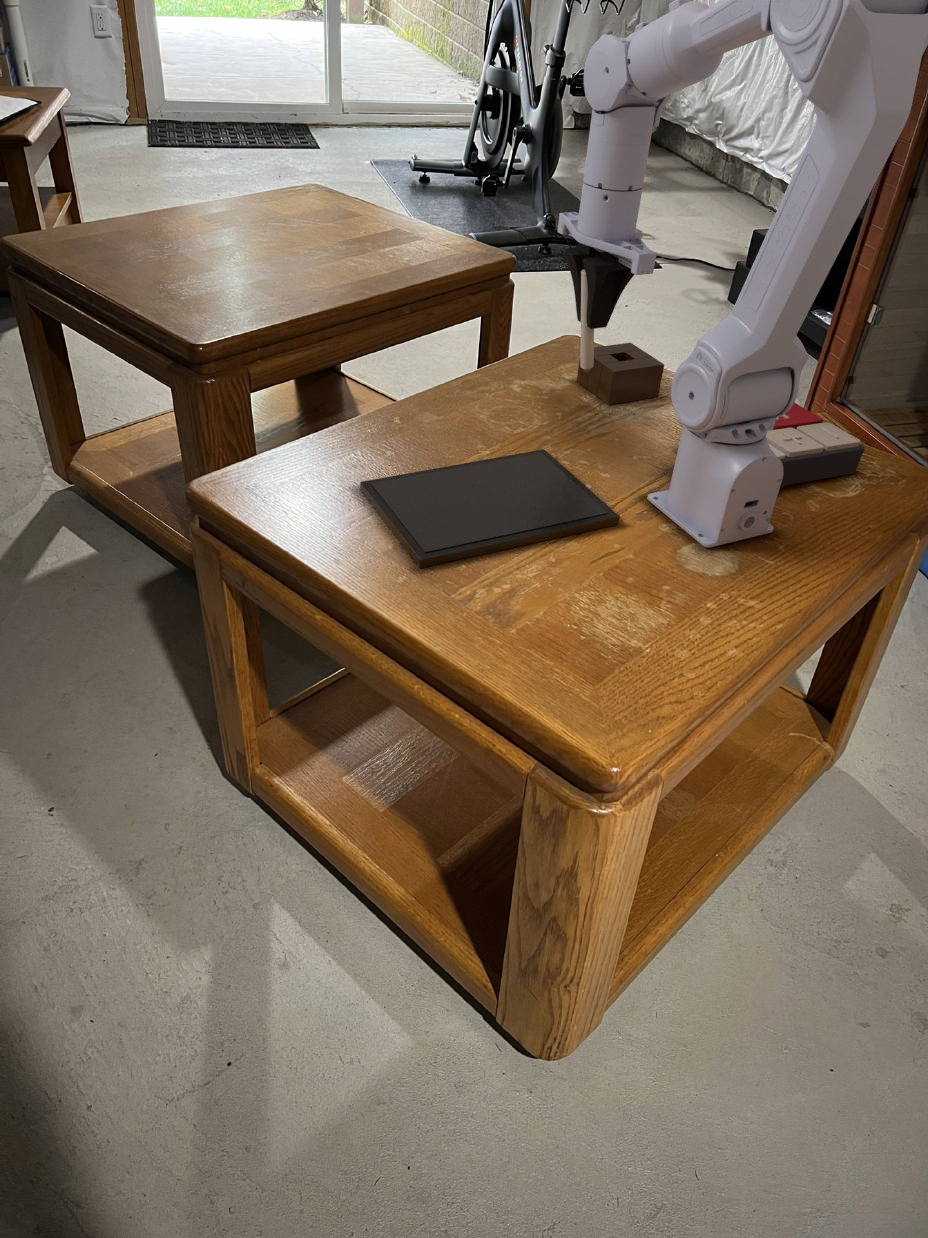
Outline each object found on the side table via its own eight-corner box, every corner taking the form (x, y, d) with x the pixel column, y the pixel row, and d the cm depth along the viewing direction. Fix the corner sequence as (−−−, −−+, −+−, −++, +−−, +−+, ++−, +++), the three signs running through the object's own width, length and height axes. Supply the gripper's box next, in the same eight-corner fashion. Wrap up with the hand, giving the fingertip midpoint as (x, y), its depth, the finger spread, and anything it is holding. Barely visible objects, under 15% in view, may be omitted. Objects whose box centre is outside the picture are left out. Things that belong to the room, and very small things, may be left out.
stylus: (595, 372, 101) (597, 270, 93) (584, 375, 100) (585, 274, 93) (589, 367, 102) (590, 266, 94) (577, 370, 101) (578, 269, 94)
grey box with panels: (870, 440, 95) (759, 458, 88) (855, 478, 97) (746, 498, 91) (794, 397, 102) (687, 410, 96) (782, 433, 105) (677, 448, 99)
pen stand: (658, 396, 109) (664, 364, 107) (608, 405, 107) (613, 371, 104) (624, 373, 114) (630, 342, 112) (576, 381, 112) (580, 348, 109)
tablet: (618, 524, 86) (620, 515, 85) (419, 568, 78) (420, 558, 78) (543, 456, 96) (544, 447, 95) (359, 489, 88) (359, 480, 87)
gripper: (692, 201, 86) (664, 344, 94) (606, 164, 96) (587, 296, 104) (629, 205, 83) (605, 352, 91) (547, 167, 93) (532, 303, 101)
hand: (592, 323), depth 98 cm, fingers closed on stylus, 1 cm apart
